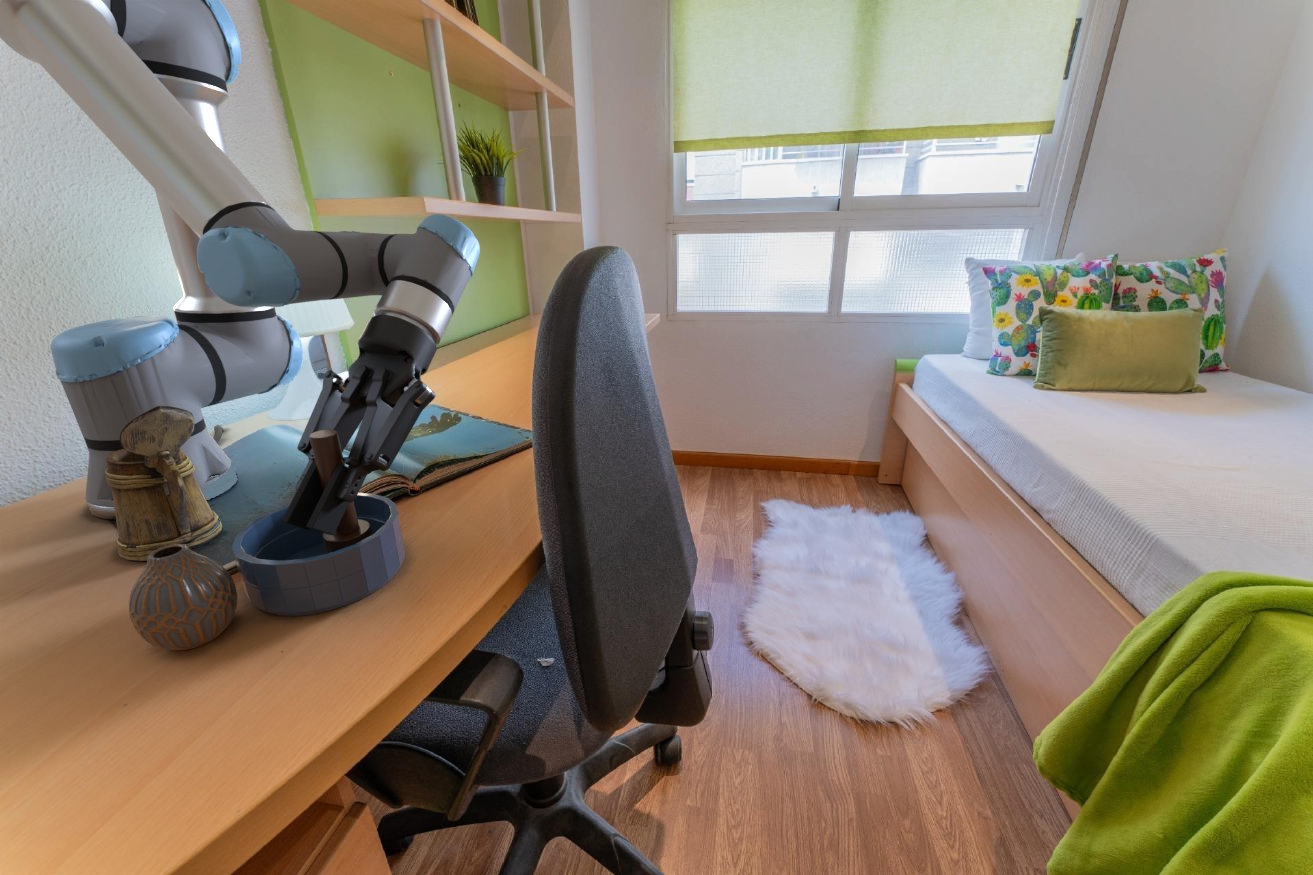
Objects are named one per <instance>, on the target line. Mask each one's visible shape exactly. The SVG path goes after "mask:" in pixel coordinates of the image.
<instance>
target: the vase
mask: <svg viewBox="0 0 1313 875" xmlns="http://www.w3.org/2000/svg"><path fill="white" fill-rule="evenodd" d="M128 600H129V601H128V614H129V618H130V620H131V624H132V625H133V627H134V630H135V631H136V633H137V634H138V635H139V636H140V637H141V638H142V639H143V640H144V641H145V642H146V643H148V644H150V645H151V646H153V647H156V648H158V649H162V650H169V651H187V650H192V649H196V648H198V647H200V646H203V645H205V644H207V643H210V642H212V640H214V639H216V638H217V637H219V636H220V635H221V634H222V633H223V632H225V630H226V629H227V627H228V626H229V625H230V624H231V622H232V620H233V618H234V617H235V615H236V611H237V607H238V590H237V587H236V583H235V582H234V579H233V577H232V575H231V574H230V572H228V570H227V569H226V568H225V567H224V566H223V565H222V564H220V563H219V562H218V561H216V560H214V559H212V558H209V557H208V556H205V555H204V554H203V555H202V554H201V553H197V552H195V551H194V550H193V549H190V548H188V547H187V546H186V545H184V544H172V545H167V546H164V547H161V548H159V549H157V550H155V551H153V552H152V553H151V554H150V555H149V556H148V560H146V564H145V567H144V568H143V570H142V572H141V573H140V575H139V576H138V578H137V579H136V581H135V583H134V584H133V587H132V589H131V590H130V594H129V599H128Z"/></svg>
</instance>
